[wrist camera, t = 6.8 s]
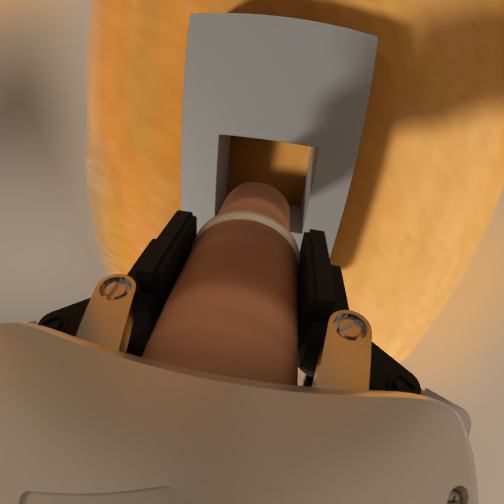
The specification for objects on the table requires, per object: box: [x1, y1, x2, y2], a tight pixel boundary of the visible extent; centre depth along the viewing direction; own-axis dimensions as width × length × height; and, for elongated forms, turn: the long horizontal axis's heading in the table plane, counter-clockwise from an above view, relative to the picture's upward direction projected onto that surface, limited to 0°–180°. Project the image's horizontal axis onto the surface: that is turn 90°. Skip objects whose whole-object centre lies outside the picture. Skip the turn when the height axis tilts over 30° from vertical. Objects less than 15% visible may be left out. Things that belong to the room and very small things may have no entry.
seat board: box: [181, 13, 378, 258], centre depth 18 cm, size 20×10×4 cm, turn 174°
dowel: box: [142, 182, 300, 386], centre depth 10 cm, size 4×4×12 cm
